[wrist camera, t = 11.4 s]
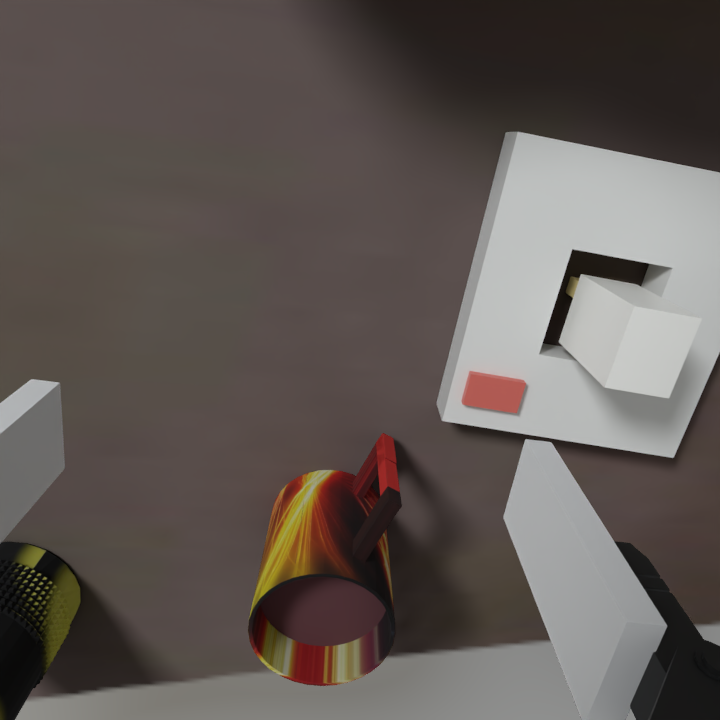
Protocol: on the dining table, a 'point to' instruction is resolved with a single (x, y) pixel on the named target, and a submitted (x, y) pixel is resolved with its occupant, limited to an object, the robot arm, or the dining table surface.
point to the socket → (543, 280)
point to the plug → (627, 335)
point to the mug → (328, 574)
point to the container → (31, 619)
